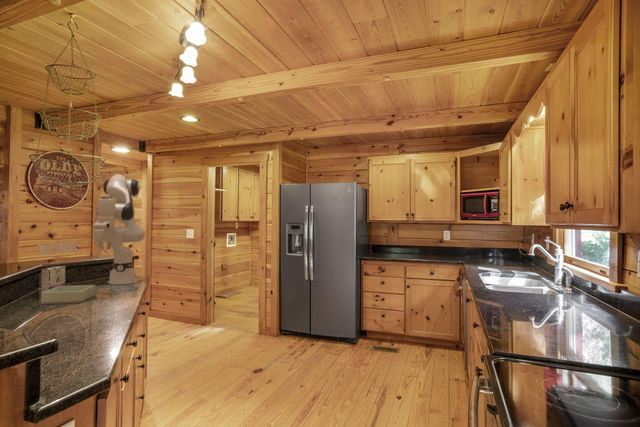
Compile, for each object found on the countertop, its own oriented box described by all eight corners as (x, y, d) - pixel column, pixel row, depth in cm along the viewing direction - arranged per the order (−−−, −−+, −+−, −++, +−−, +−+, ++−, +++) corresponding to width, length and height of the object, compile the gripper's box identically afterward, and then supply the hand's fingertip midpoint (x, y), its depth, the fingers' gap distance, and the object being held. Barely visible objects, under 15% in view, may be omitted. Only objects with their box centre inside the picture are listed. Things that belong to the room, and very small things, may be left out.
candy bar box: (56, 294, 190) (57, 266, 191) (65, 294, 190) (66, 266, 191) (40, 299, 179) (41, 268, 180) (49, 299, 179) (50, 268, 179)
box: (58, 296, 184) (58, 286, 185) (95, 295, 189) (95, 284, 189) (40, 304, 167) (41, 292, 167) (81, 302, 172) (82, 291, 172)
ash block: (99, 297, 185) (99, 288, 185) (111, 297, 186) (111, 288, 186) (96, 299, 180) (96, 290, 180) (108, 298, 182) (109, 289, 182)
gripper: (107, 225, 195) (106, 248, 194) (91, 224, 175) (90, 250, 174) (119, 225, 196) (118, 248, 196) (104, 224, 176) (103, 250, 176)
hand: (105, 249), depth 185 cm, fingers open, 8 cm apart
